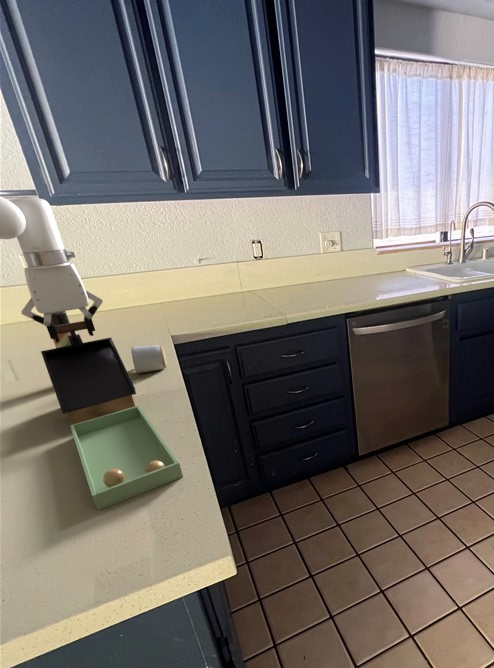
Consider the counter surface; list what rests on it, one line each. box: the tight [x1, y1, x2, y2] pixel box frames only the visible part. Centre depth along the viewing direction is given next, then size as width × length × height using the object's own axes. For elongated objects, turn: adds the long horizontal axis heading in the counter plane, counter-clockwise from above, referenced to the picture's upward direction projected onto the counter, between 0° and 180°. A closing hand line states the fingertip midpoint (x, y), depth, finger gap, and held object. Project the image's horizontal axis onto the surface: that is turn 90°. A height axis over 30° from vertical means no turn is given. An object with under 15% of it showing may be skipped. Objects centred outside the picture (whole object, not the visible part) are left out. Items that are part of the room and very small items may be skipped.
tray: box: [69, 405, 184, 511], centre depth 82 cm, size 13×31×3 cm, turn 40°
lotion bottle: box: [51, 311, 79, 348], centre depth 116 cm, size 6×6×20 cm
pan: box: [40, 320, 137, 414], centre depth 97 cm, size 14×23×5 cm, turn 40°
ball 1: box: [103, 469, 125, 487], centre depth 73 cm, size 3×3×3 cm
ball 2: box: [145, 461, 165, 474], centre depth 74 cm, size 3×3×3 cm
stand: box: [66, 395, 136, 425], centre depth 103 cm, size 13×14×4 cm
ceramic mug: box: [130, 344, 168, 374], centre depth 125 cm, size 11×8×8 cm
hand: (74, 337), depth 101 cm, fingers closed on pan, 6 cm apart
